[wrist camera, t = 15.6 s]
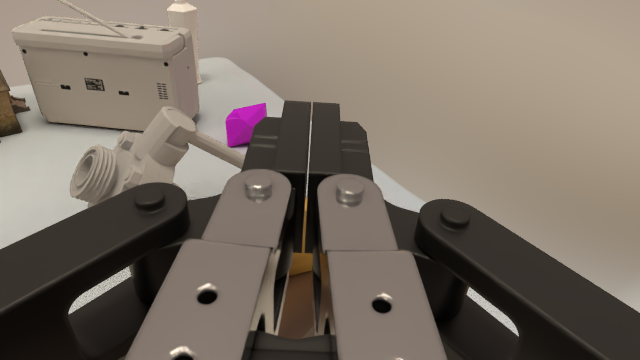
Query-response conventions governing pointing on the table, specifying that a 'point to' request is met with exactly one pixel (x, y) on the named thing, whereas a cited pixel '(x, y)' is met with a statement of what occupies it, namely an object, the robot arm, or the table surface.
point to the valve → (143, 157)
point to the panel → (298, 308)
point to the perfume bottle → (185, 24)
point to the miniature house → (9, 109)
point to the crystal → (243, 123)
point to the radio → (108, 70)
